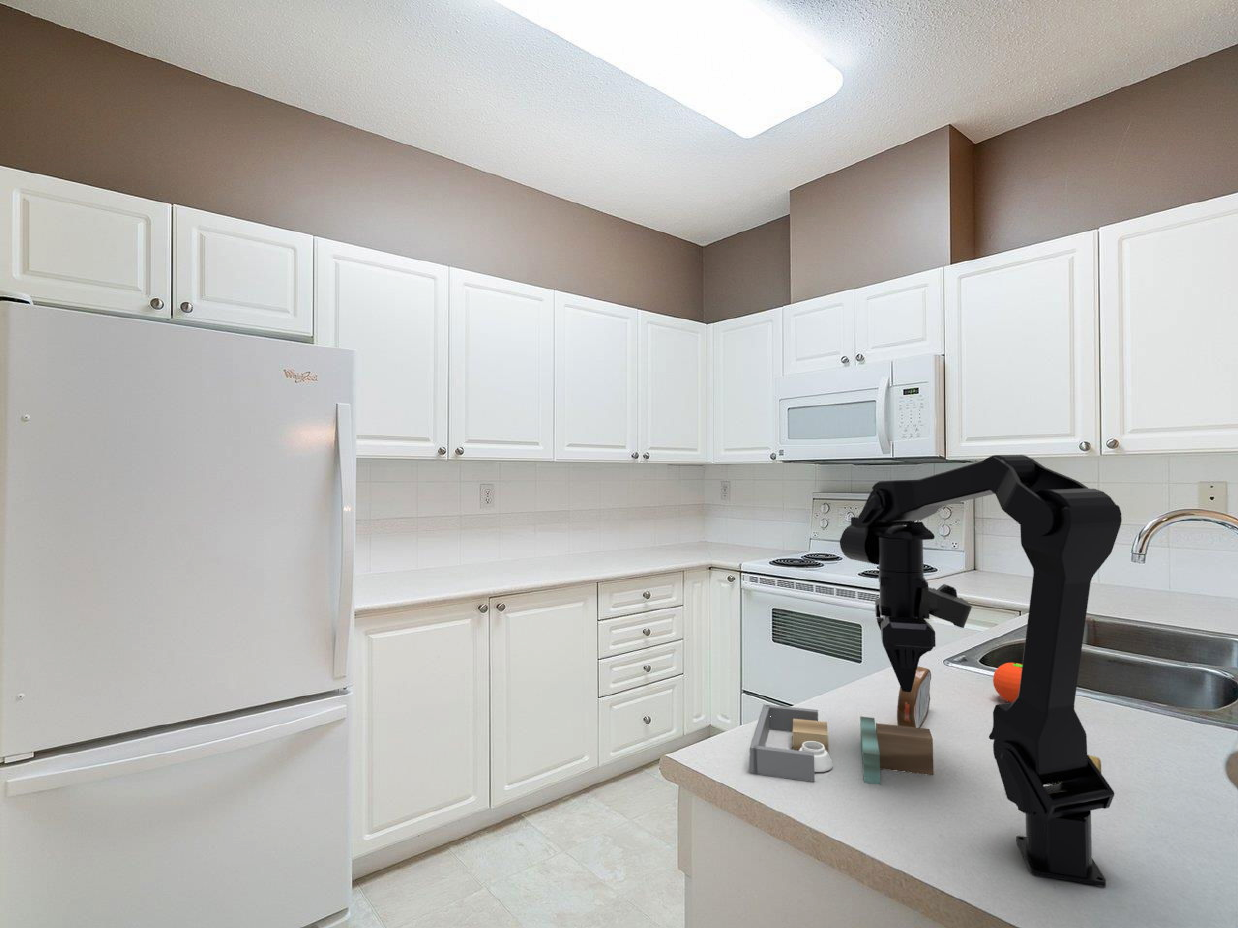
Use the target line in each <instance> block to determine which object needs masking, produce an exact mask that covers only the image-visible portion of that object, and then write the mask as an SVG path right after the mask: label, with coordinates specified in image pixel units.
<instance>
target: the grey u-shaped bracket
mask: <svg viewBox="0 0 1238 928" xmlns="http://www.w3.org/2000/svg"><path fill="white" fill-rule="evenodd" d="M770 716H771V717H770ZM793 719H802V720H812V721H819V709H815V708H814V709H812V708H804V707H792V706H785V705H783V706H782V705H773V704H763V705H762V708H761V710H760V714H759V717H758V720H757V723H756V727H755V730H754V733H753V736H752V739H751V742H750V745H749V773H750V774H753V775H761V776H767V777H775V778H784V779H790V780H798V781H804V782H812V783H815V780H816V779H815V773H816V772H814V753H813V752H805V751H797V750H793V749H786V748H778V747H772V746H766V743H767V740H768V736H769V733H770V730H777V731H786V732H792V733H793Z"/></svg>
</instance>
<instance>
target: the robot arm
mask: <svg viewBox="0 0 1238 928" xmlns="http://www.w3.org/2000/svg"><path fill="white" fill-rule="evenodd" d="M871 488H872V490H871V492H870V494H869V496H868V497H867V499H866V501H865V503H864V506H863V508H862V510H861V512H860V513H859V515H858V516H851V517H850V524H849V525H848V526H847V527H846V528H845V529H844V530H843V532H842V533H841V537H840V538H839V547H840V550H841V552H842V553H843V555H844V556H845V557H846V558H848V559H850V560H853V561H858V562H863V563H867V564H872V565H878V568H879V569H878V570H879V572H878V583H879V598H877V599H876V600H875V602H874V603H875V604H874V607H875V608H874V611H875V617H876V622H877V625H878V627H879V630H880V635H881V636H880V637H881V642H882V645H883V646H882V647H883V648H884V650H885V654H886V655H887V658H888V660H889V662H890V665H891V667H892V669H893V672H894V674H895V677H896V679H897V681H898V685H899V687H900V686H901V689H902V691H903V692H911V691H912V687H913V683H914V679H915V675H916V670H917V666H918V667H919V662H920V658H921V657H922V656H924V655H925V654H926V653H927V652H931V651H933V649H934V648H935V647H936V645H937V644H936V631H935V629H934V627H933V626H932V625H931V623H929V622H928V621H927V620H930V615H931V616H934V617H935V618H939V619H940V620H944V621H946V622H949V623H950V624H953V626H955V627H958V628H961V629H964V628H965V626H966V623H967V622H968V621H967V620H968V618H969V616H970V614H971V613H970V612H971V611H972V608H973V606H972V605H971V603H969V601H967V600H965V599H963V598H962V597H958V593H957V589H956V588H955V586H954V587H953V586H951V585H949V584H946V583H943V584H942V585H941V586H939V587H938V588H937V589H936V588H934V587H933V588H932V587H929V582H928V581H927V580H926V577H924V575H925V574H924V541H928V540H934V539H935V534H934V533H933V532H932V531H931V530H930V529H929V528H927V527H926V526H925V525H924V523H923V521H922V520H924V519H926V518H929V517H930V516H932V515H936V513H938V511H939V510H940V509H942V508H943V507H946V506H948V505H952V504H957V503H961V502H964V501H965V502H966V501H969V500H974V499H977V498H982V497H987V496H992V495H995V496H996V499H997V501H998V503H999V506H1000V507H1001V508H1000V509H1001V510H1002V511H1003V512H1004V513H1005V514H1006V515H1007V516H1009V517H1010V518H1012V519H1013V520H1014V521H1016V523H1018V524H1019V527H1020V545H1021V547H1022V549H1023V551H1024V553H1025V555H1026V557H1027V559H1028V561H1029V563H1030V565H1031V567H1032V571H1033V572H1032V573H1033V574H1032V582H1031V583H1032V584H1031V591H1030V597H1029V598H1030V599H1029V609H1028V616H1027V622H1026V623H1027V624H1026V625H1027V626H1026V634H1025V641H1024V650H1023V657H1022V663H1021V664H1022V673H1021V681H1020V689H1019V694H1018V697H1017V699H1016V700H1015V701H1014V702H1006V703H1005V702H1004V703H998V704H995V706H994V708H993V711H992V721H993V723H992V724H993V725H992V730H991V732H990V734H989V735H988V738H989V740H993V744H992V749H993V756H994V759H995V761H996V765H997V768H998V772H999V774H1000V775H999V776H1000V779H1001V782H1002V785H1003V790H1004V792H1005V795H1006V799H1007V800H1008V801H1010V802H1011V803H1013V804H1015V805H1016V807H1017V810H1019V812H1022V813H1023V814H1025V836H1023V835H1018V836H1016V837H1015V841H1016V844H1017V846H1018V848H1019V850H1020V852H1021V854H1022V856H1023V859H1024V861H1025V864H1026V865H1027V867H1028V869H1029V871H1030V872H1031V874H1033V875H1036V876H1039V877H1040V876H1041V877H1046V878H1047V877H1048V878H1052V879H1053V878H1054V879H1060V880H1065V881H1071V882H1077V883H1084V884H1090V885H1095V886H1101V887H1105V886H1106V885H1107V879H1106V878H1105V876H1104V874H1103V873H1102V871H1101V870H1100V867H1098V865H1097V863H1096V862H1095V861H1094V858H1093V849H1092V848H1093V847H1092V843H1093V841H1092V817H1091V816H1092V811H1094V810H1100V809H1105V810H1106V809H1109V808H1110V806H1111V804H1112V801H1113V800H1114V796H1115V791H1114V790H1113V788H1112V787H1111V785H1110V784H1109V783H1108V781H1107V780H1106V778H1105V777H1104V776H1103V774H1102V772H1101V773H1100V771H1099V770H1098V769H1097V767H1096V766H1095V764H1094V763H1093V762H1092V760H1091V759H1090V757H1089V756H1088V755H1089V754H1088V741H1087V738H1088V736H1087V732H1086V730H1085V728H1084V726H1083V723H1082V722H1081V720H1080V718H1079V716H1078V714H1077V712H1076V710H1075V701H1076V695H1077V693H1076V692H1077V687H1078V680H1079V673H1080V672H1079V671H1080V666H1081V665H1080V663H1081V658H1082V649H1083V643H1084V634H1085V629H1086V627H1085V626H1086V619H1087V613H1088V605H1089V596H1090V589H1091V582H1092V579H1093V577H1094V575H1095V574H1096V573H1097V571H1098V570H1099V569H1100V568H1101V566H1102V565H1104V563H1105V561H1106V560H1107V559H1108V557H1110V555H1111V554H1112V552H1113V549H1114V547H1115V543H1116V541H1117V539H1118V534H1119V532H1120V529H1121V525H1122V520H1123V519H1122V512H1121V511H1122V510H1121V508H1120V505H1118V504H1116V502H1115V501H1114V500H1113V498H1112V497H1111V496H1110V495H1108V494H1107V493H1106V492H1105V491H1103V490H1100V489H1096V488H1089V487H1088V486H1086V485H1084V484H1083V483H1082V482H1080V481H1078V480H1076V479H1073V478H1071V477H1069V476H1067V475H1065V474H1062V473H1059V472H1057V471H1054V470H1053V469H1050V468H1048V467H1046V466H1044V465H1042V464H1041V463H1039V462H1038V461H1036V460H1035V459H1034V458H1032V457H1029V456H1027V455H1025V454H995V455H990V456H989V457H987V458H985V459H983V460H980V461H978V462H974V463H970V464H966V465H964V466H961V467H957V468H953V469H950V470H947V471H944V472H939V473H936V474H934V475H930V476H926V477H924V478H919V479H904V480H903V479H900V480H899V479H898V480H897V479H896V480H881V481H877V482H876V483H874V484H873V486H872V487H871ZM881 616H882V617H881ZM1058 782H1062V783H1058Z"/></svg>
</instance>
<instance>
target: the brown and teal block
mask: <svg viewBox="0 0 1238 928" xmlns="http://www.w3.org/2000/svg"><path fill="white" fill-rule="evenodd" d="M859 718H860V719H859V721H860V728H859V729H860V749H861V760H862V762H861V763H862V771H863V773H862V774H863V783H865V784H866V783H867V784H872V785H873V784H874V785H881V770H887V771H893V770H897V771H896V772H901V771H905V772H904V773H909V772H912V773H911V774H917V773H919V774H920V775H925V774H927V776H933V775H934V774H935V771H934V739H933V735H932V733H931V729H930V728H925V727H920V728H916V727H907V726H898V724H897V725H894V724H887V723H886V724H885V723H876V721H875V717H868V716H860V717H859ZM880 768H881V769H880Z"/></svg>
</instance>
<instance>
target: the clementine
mask: <svg viewBox="0 0 1238 928" xmlns="http://www.w3.org/2000/svg"><path fill="white" fill-rule="evenodd" d="M1022 664H1023V663H1017V662H1015V661H1014V662H1006V663H1003V664H1001V665H1000V666H998V667H997V669H996V670H995V672H994V674H993V677H992V683H993V688H994V689H995V692H996V693H997V694H998V695H999V697H1001V698H1002V699H1004V701H1006V702H1007V703H1011V702H1014V701H1015V700H1016V699H1017V697H1018V694H1019V689H1020V681H1021V673H1022Z"/></svg>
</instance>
